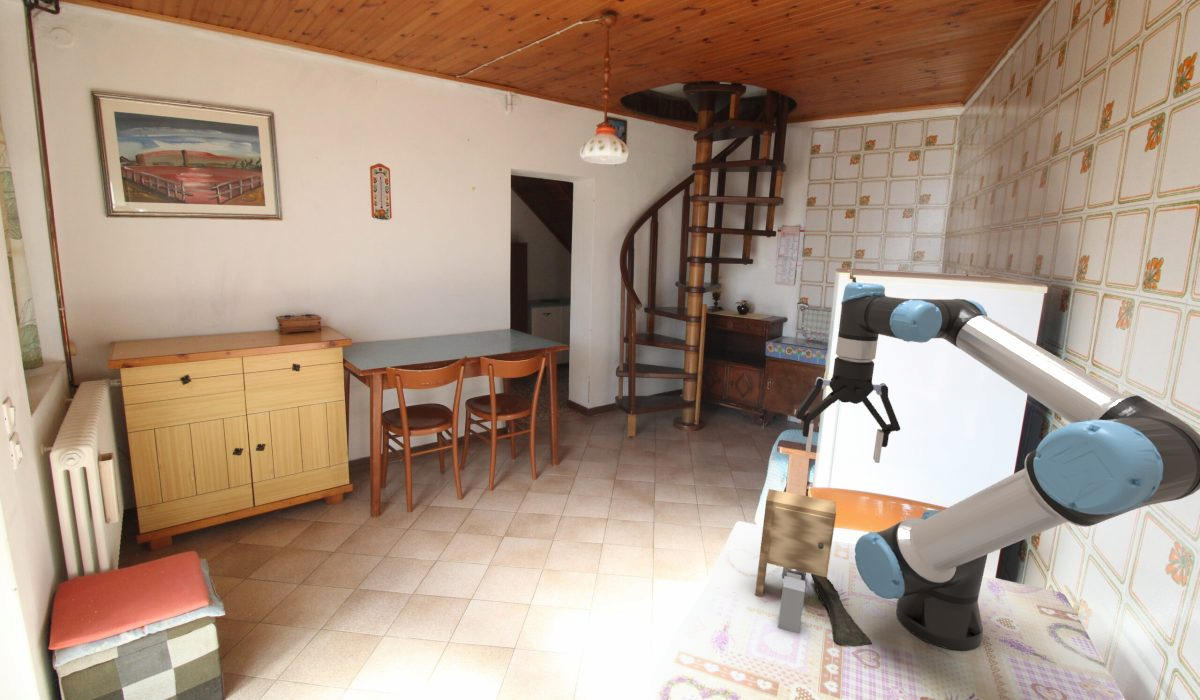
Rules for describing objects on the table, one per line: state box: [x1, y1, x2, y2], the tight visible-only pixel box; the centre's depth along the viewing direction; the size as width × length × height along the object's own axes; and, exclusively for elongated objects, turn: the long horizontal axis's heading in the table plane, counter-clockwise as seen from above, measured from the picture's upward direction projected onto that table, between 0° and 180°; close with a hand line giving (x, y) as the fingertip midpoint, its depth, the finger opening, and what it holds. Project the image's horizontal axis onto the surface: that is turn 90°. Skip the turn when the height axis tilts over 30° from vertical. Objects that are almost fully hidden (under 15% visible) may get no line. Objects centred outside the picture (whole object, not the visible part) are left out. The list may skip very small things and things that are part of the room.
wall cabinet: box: [754, 488, 837, 598], centre depth 122 cm, size 14×7×22 cm, turn 69°
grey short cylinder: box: [781, 567, 807, 582], centre depth 131 cm, size 5×5×3 cm
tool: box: [810, 574, 873, 648], centre depth 119 cm, size 21×8×3 cm, turn 2°
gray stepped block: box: [777, 572, 806, 634], centre depth 120 cm, size 4×17×9 cm, turn 159°
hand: (841, 456), depth 123 cm, fingers open, 13 cm apart
